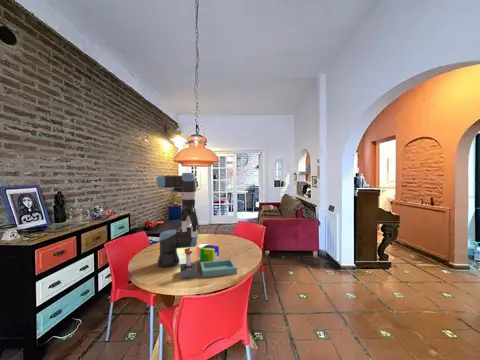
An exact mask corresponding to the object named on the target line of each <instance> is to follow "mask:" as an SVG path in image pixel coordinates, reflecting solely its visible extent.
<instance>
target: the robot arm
mask: <svg viewBox="0 0 480 360" xmlns="http://www.w3.org/2000/svg"><path fill="white" fill-rule="evenodd" d="M156 187H157V188H158V189H164V190H165V191H167V192H171V193H178V194H179V195H180V199H181V202H180V203H181V210H180V211H181V213H180V218H179V219H180V220H181V227H180V228H179V231H177V229H167V230H164V231H162V232H160V234H159V253H158V254H159V255H158V258H157V261H156V262H157V264H156V266H157V267H159V268H172V267H175V266H177V265H179V264H180V258H179V255H178V249H187V248H194V247H196V246H197V244H198V236H199V235H198V234H199V232H198V230H197V226H199V221H198V217H197V212H196V211H197V210H196V208H195V207H194V206H195V205H196V192H197V183H196V175H195V173H194V172H182V174H181V175H158V176H157V177H156Z"/></svg>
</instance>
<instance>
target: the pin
mask: <svg viewBox="0 0 480 360" xmlns="http://www.w3.org/2000/svg"><path fill="white" fill-rule="evenodd" d="M192 253H193V248H192V247H188V248H184V254H185V264H186V268H191V263H192Z"/></svg>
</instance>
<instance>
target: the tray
mask: <svg viewBox="0 0 480 360" xmlns="http://www.w3.org/2000/svg"><path fill="white" fill-rule="evenodd" d="M199 263H200V267H199V268H200V272H201V275H202V276H201V277H202V278H209V277H211V276H212V277H219V275H220V276H229V275H236V273H237V274H238V267H237V265H236V264H235V263H234V261H233V260H232V258H230V259H229V258H228V259H221V260H220V259H219V260H218V261H208V262H199Z"/></svg>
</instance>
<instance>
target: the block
mask: <svg viewBox="0 0 480 360" xmlns="http://www.w3.org/2000/svg"><path fill="white" fill-rule="evenodd" d="M179 264H180V265H179V266H180V267H179V268H180V270H179V273H180V275H179V276H180V280H189V279H195V278H198V266H197V262H191V268H186V263H179Z"/></svg>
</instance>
